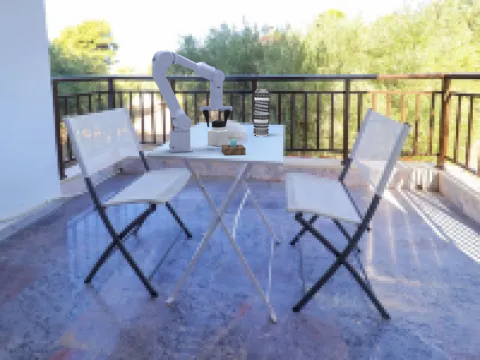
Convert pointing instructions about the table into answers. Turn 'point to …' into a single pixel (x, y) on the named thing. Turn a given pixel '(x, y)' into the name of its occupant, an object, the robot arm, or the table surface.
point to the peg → (233, 142)
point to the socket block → (233, 150)
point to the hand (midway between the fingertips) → (216, 126)
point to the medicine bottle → (217, 134)
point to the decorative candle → (261, 112)
